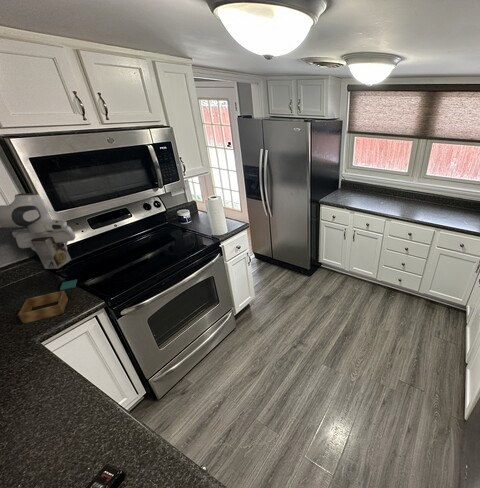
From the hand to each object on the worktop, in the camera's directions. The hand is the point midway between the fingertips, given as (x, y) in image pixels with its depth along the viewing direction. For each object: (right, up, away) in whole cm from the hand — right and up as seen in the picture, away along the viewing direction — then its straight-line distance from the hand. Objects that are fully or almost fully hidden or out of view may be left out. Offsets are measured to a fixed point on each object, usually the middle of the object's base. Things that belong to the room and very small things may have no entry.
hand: (53, 251), depth 133 cm
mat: (-1, -18, +9) cm, 21 cm away
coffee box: (0, -7, +3) cm, 8 cm away
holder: (+7, -27, -9) cm, 30 cm away
